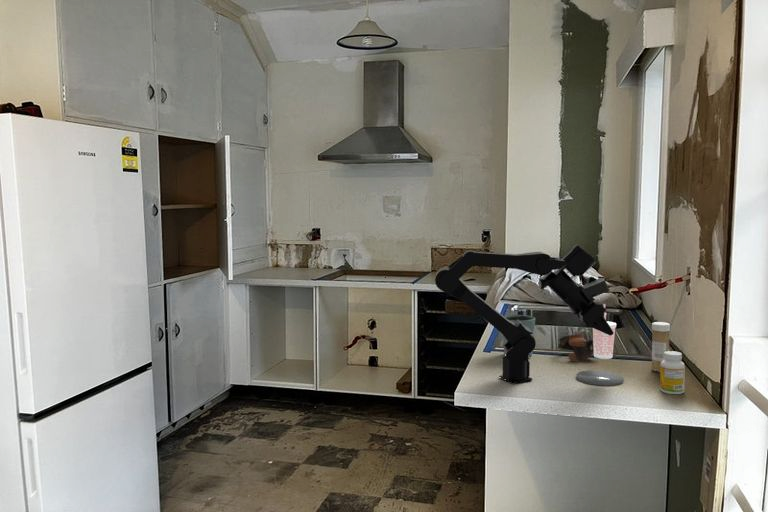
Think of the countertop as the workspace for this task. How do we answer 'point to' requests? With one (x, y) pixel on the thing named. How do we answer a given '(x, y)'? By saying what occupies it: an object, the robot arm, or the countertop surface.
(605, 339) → the beverage cup
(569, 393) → the countertop surface
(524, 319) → the drinking glass
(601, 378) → the coaster
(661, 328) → the sprinkles bottle
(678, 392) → the supplement bottle
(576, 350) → the pottery mug
